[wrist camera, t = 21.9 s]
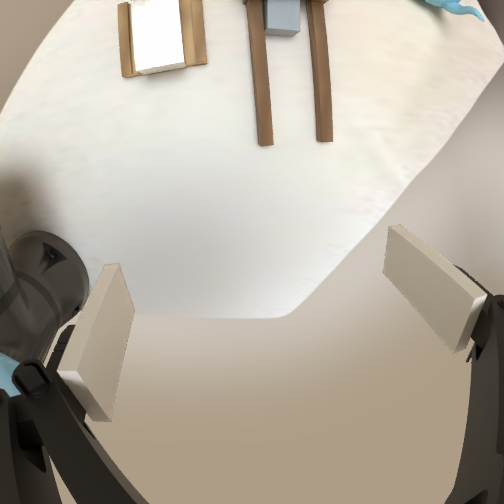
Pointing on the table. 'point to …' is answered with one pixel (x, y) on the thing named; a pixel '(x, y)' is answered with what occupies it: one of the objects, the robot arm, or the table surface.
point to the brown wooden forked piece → (318, 63)
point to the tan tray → (191, 35)
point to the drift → (281, 17)
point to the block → (157, 35)
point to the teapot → (455, 7)
